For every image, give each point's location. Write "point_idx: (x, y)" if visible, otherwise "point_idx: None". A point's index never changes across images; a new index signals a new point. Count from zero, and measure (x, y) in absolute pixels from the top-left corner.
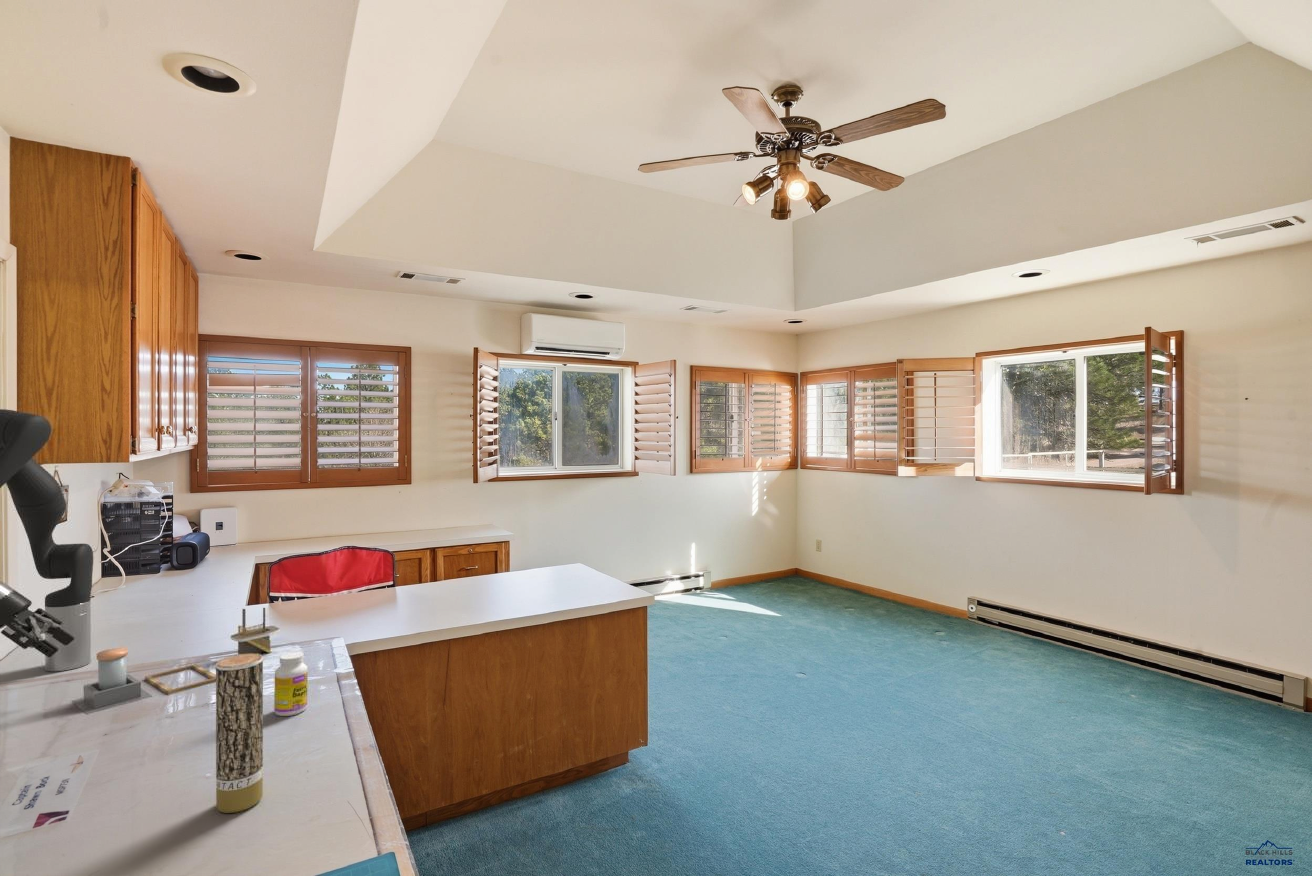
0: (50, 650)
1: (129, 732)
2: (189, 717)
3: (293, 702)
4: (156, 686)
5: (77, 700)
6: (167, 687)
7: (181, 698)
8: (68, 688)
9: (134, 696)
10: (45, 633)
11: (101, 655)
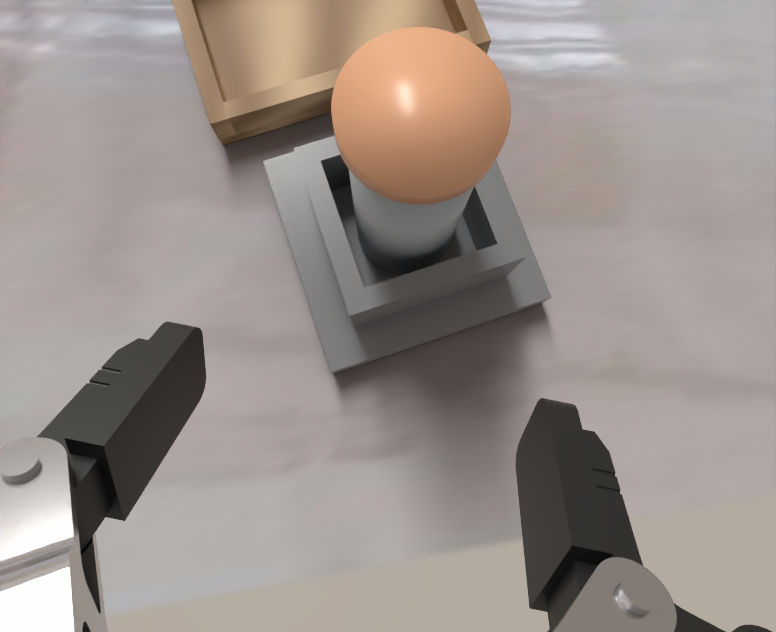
0: (602, 455)
1: (743, 167)
2: (699, 9)
3: None
4: None
5: (342, 349)
6: None
7: None
8: (45, 417)
9: None
10: (101, 595)
11: (476, 160)
